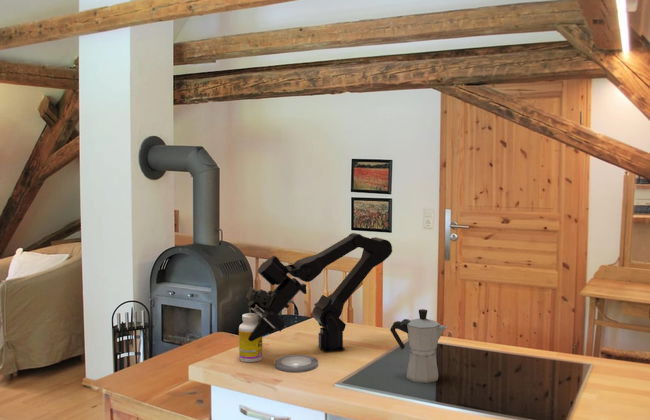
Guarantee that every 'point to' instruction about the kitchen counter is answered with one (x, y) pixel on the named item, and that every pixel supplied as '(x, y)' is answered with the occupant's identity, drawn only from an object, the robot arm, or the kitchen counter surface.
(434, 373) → the coffee maker
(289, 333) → the kitchen counter surface
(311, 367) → the gray plate
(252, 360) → the supplement bottle
